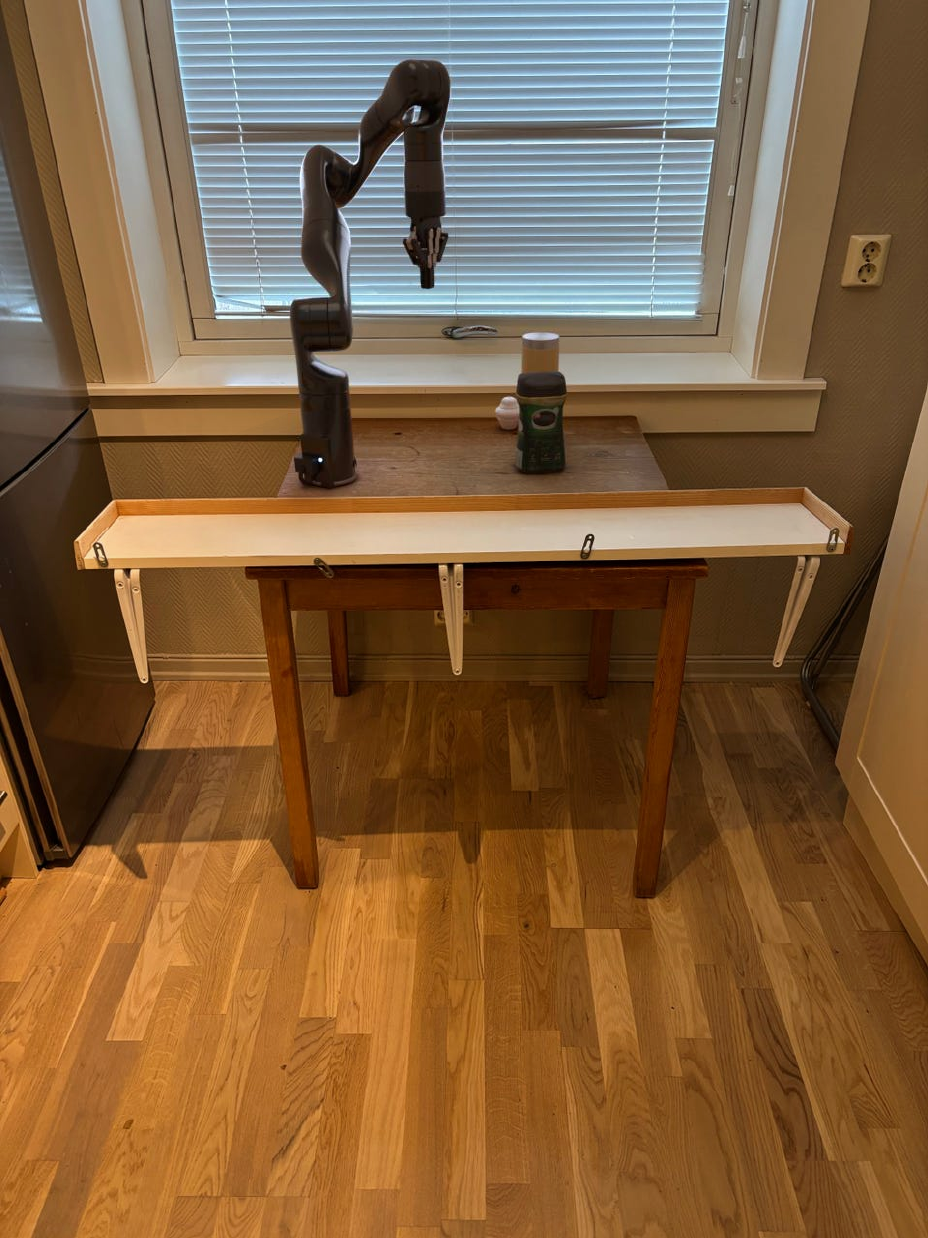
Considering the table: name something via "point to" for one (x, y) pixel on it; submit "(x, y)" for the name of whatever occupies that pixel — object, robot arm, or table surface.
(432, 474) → the table surface
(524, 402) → the coffee jar
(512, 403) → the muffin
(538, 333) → the tin cans
